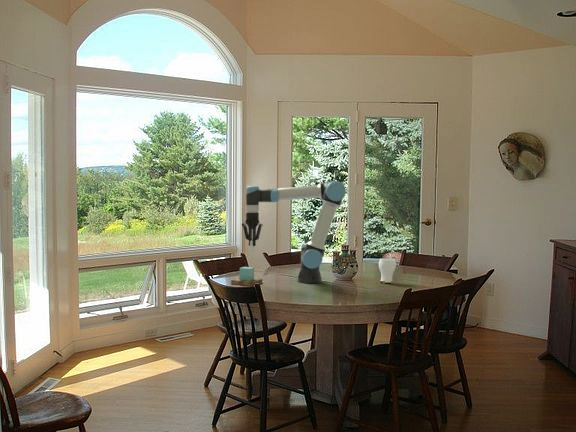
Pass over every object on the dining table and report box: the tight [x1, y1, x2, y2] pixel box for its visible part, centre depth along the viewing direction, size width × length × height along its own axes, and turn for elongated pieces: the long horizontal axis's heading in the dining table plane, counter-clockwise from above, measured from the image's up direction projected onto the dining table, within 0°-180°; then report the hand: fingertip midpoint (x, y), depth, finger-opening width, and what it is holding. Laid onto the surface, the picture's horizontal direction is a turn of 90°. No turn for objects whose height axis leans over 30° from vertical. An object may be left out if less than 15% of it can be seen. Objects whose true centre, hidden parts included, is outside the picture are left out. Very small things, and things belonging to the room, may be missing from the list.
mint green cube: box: [238, 266, 255, 281], centre depth 371 cm, size 7×7×7 cm
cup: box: [378, 257, 397, 282], centre depth 391 cm, size 11×11×15 cm
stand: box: [230, 277, 263, 287], centre depth 371 cm, size 14×14×8 cm
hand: (252, 251), depth 372 cm, fingers closed
